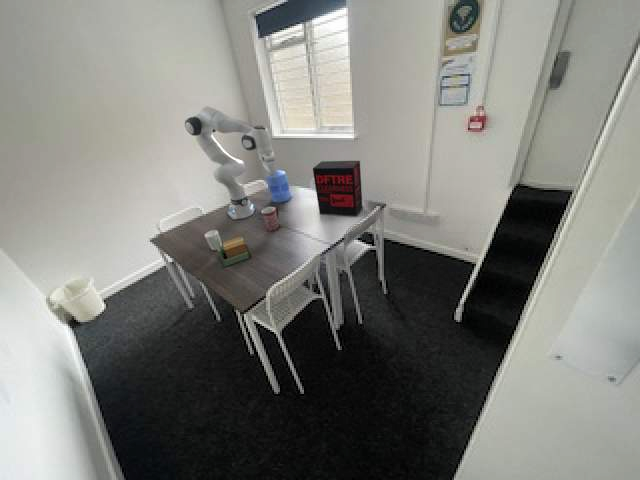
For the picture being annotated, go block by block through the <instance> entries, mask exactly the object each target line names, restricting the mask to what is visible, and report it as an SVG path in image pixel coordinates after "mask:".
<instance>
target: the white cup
mask: <svg viewBox="0 0 640 480" xmlns="http://www.w3.org/2000/svg"><path fill="white" fill-rule="evenodd" d="M204 238H205V240H206V242H207V243H208V245H209V247H210V249H211V250H212V251H217V245H216V240H217V239H218V241H219V244H220V246H221V248H223V242H222V239H221V235H220V234H219V231H218V230H217V229H213V230H209V231H207V232H206V233H204Z"/></svg>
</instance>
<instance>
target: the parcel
mask: <svg viewBox="0 0 640 480" xmlns="http://www.w3.org/2000/svg"><path fill="white" fill-rule="evenodd" d="M222 245H223V246H222V248H224V250H225V253H226V254H225V255H226V259H228V258H231V257H234V256H237V255H240V254H242V253H245V252H248V250H247V246H246V244H245V241H244V238H243V236H239V237H236V238H233V239H229V240H227V241H226V240H225V241H223V242H222Z"/></svg>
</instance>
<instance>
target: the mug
mask: <svg viewBox="0 0 640 480" xmlns="http://www.w3.org/2000/svg"><path fill="white" fill-rule="evenodd" d="M261 214H262V217H263V219H264V222H265V225H266V228H267V230H268V231H270V232H274V231H277V230H278V229H279V228H280V227H279V214H280V213H279V209H278V207H275V206H268V207H264V208H263V209H262V210H261Z"/></svg>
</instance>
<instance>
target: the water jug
mask: <svg viewBox="0 0 640 480" xmlns="http://www.w3.org/2000/svg"><path fill="white" fill-rule="evenodd" d="M276 170H277V172H276V173H275V174H273V178H270V176H269V173H268V174H266V177H265V178H266V181H267V185H268V189H269V193H270V196H271V201H272V202H273V203H279V204H280V203H285V202H287V201H289V200H290V199H291V198H292V194H291V189H290V185H289V180H288V176H287V172H286V171H284V170H280V169H278V168H277V166H276Z"/></svg>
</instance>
